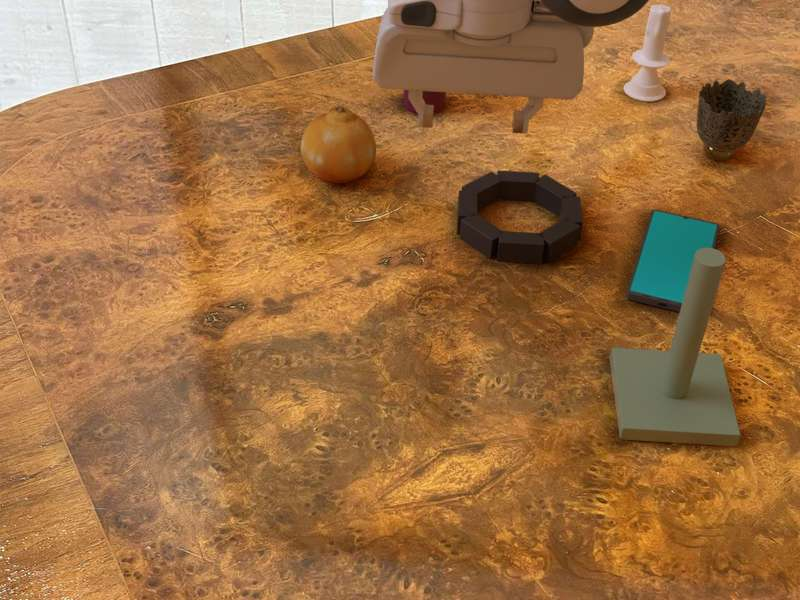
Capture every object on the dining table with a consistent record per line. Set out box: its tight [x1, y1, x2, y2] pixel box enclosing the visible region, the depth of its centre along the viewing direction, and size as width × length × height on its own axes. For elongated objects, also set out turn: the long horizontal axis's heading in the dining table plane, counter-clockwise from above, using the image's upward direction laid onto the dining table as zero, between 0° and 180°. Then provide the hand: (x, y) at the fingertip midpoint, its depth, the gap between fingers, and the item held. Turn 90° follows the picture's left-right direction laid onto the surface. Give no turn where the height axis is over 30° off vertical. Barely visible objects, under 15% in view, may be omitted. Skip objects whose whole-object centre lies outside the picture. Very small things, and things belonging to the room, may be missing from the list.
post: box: [609, 248, 741, 447], centre depth 90 cm, size 10×10×16 cm
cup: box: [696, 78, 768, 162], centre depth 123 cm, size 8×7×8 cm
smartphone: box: [625, 208, 721, 313], centre depth 110 cm, size 7×1×15 cm
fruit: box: [300, 106, 377, 184], centre depth 119 cm, size 8×8×8 cm
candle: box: [623, 3, 672, 102], centre depth 133 cm, size 5×5×12 cm
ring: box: [456, 170, 584, 265], centre depth 114 cm, size 13×13×2 cm
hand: (472, 127), depth 107 cm, fingers open, 8 cm apart
